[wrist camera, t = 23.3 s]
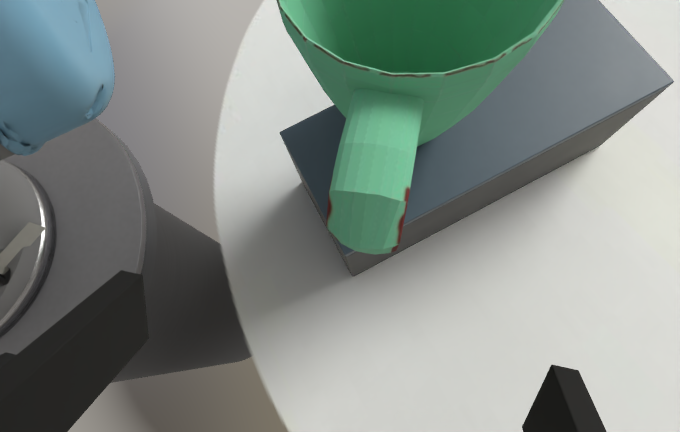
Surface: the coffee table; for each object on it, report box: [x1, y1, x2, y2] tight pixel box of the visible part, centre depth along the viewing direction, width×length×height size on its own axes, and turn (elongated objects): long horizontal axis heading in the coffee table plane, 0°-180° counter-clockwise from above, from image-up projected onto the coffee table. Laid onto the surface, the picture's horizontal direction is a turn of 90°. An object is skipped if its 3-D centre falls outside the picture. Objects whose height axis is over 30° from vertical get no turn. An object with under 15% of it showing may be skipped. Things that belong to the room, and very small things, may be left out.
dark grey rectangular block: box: [280, 0, 674, 276], centre depth 26 cm, size 20×9×8 cm, turn 117°
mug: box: [277, 0, 564, 254], centre depth 17 cm, size 15×10×10 cm
